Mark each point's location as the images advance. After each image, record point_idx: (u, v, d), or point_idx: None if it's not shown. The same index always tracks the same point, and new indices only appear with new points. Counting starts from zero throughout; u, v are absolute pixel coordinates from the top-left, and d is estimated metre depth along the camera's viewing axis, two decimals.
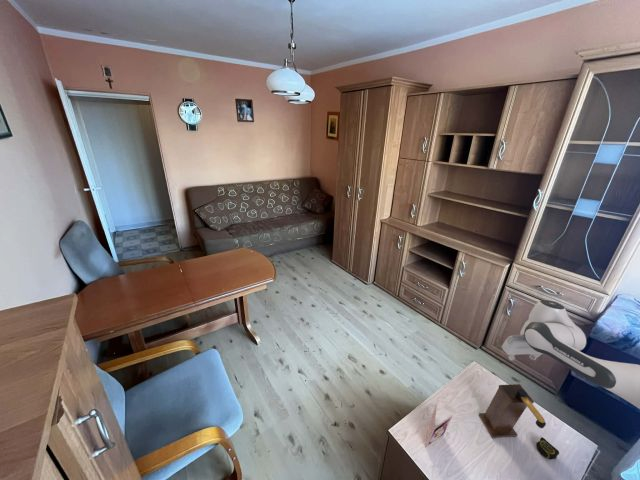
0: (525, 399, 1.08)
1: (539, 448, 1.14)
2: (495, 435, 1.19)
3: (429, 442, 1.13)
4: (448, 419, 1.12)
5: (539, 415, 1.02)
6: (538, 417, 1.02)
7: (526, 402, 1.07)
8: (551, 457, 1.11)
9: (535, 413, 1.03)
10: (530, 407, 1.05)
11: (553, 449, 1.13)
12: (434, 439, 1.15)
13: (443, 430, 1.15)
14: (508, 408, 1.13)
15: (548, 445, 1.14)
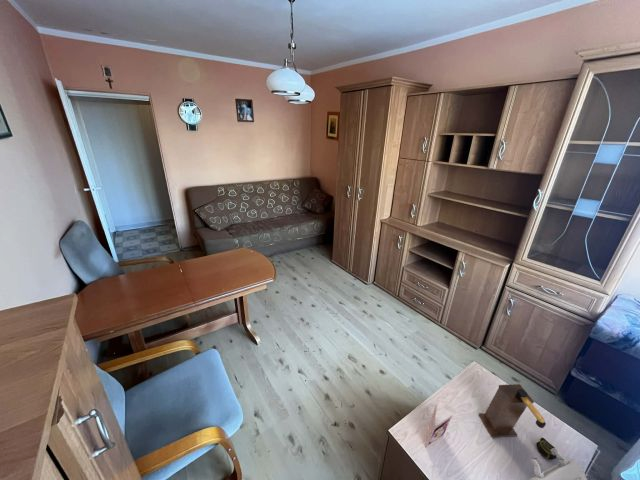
0: (525, 399, 1.08)
1: (539, 448, 1.14)
2: (495, 435, 1.19)
3: (429, 442, 1.13)
4: (448, 419, 1.12)
5: (539, 415, 1.02)
6: (538, 417, 1.02)
7: (526, 402, 1.07)
8: (551, 457, 1.11)
9: (535, 413, 1.03)
10: (530, 407, 1.05)
11: None
12: (434, 439, 1.15)
13: (443, 430, 1.15)
14: (508, 408, 1.13)
15: (548, 445, 1.14)
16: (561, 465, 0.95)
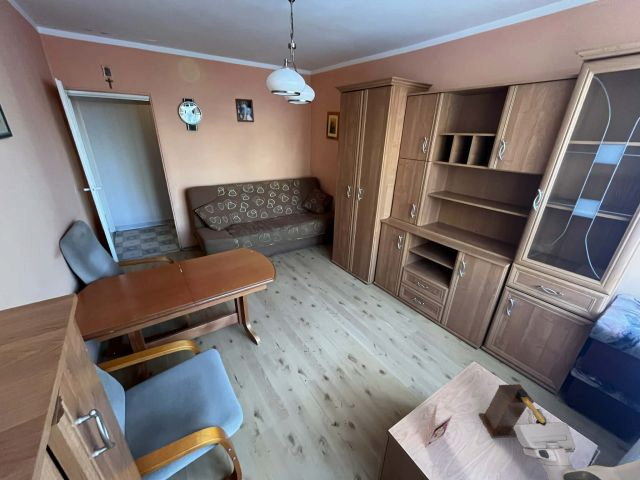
0: (525, 399, 1.08)
1: None
2: (495, 435, 1.19)
3: (429, 442, 1.13)
4: (448, 419, 1.12)
5: (539, 415, 1.02)
6: (538, 417, 1.02)
7: (526, 402, 1.07)
8: None
9: (535, 413, 1.03)
10: (530, 407, 1.05)
11: None
12: (434, 439, 1.15)
13: (443, 430, 1.15)
14: (508, 408, 1.13)
15: None
16: None
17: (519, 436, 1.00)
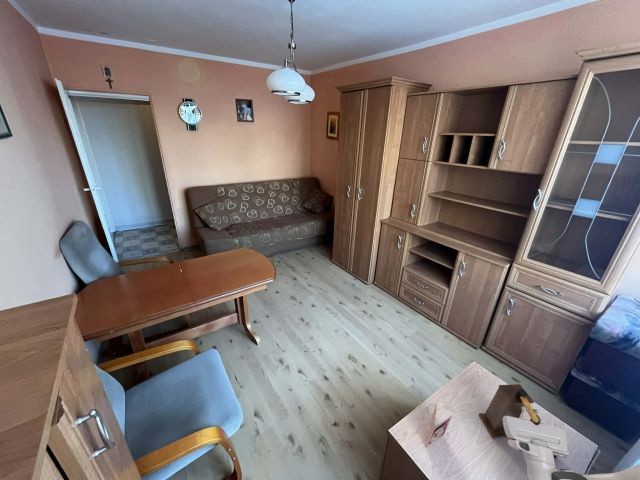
0: (523, 399, 1.08)
1: None
2: (495, 435, 1.19)
3: (429, 442, 1.13)
4: (448, 419, 1.12)
5: (533, 414, 1.02)
6: (532, 416, 1.02)
7: (524, 401, 1.07)
8: None
9: (530, 412, 1.03)
10: (526, 406, 1.06)
11: None
12: (434, 439, 1.15)
13: (443, 430, 1.15)
14: (508, 408, 1.13)
15: None
16: None
17: (505, 426, 1.03)
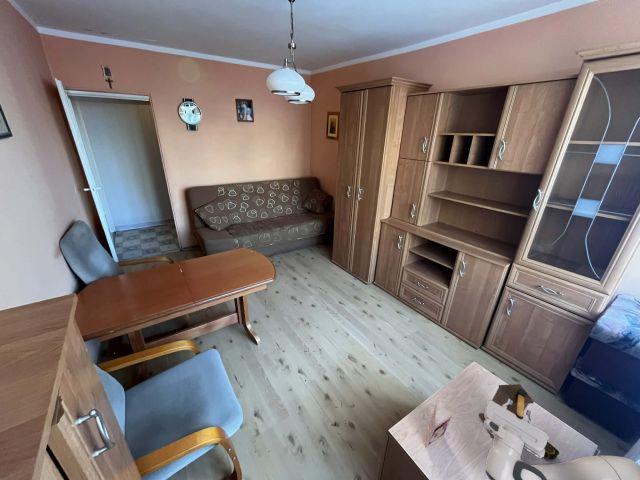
0: (520, 397, 1.09)
1: None
2: None
3: (429, 442, 1.13)
4: (448, 419, 1.12)
5: (520, 409, 1.04)
6: (518, 410, 1.04)
7: (518, 398, 1.08)
8: (551, 457, 1.11)
9: (518, 407, 1.05)
10: (518, 402, 1.07)
11: (553, 449, 1.13)
12: (434, 439, 1.15)
13: (443, 430, 1.15)
14: (508, 408, 1.13)
15: (548, 445, 1.14)
16: None
17: (485, 408, 1.09)
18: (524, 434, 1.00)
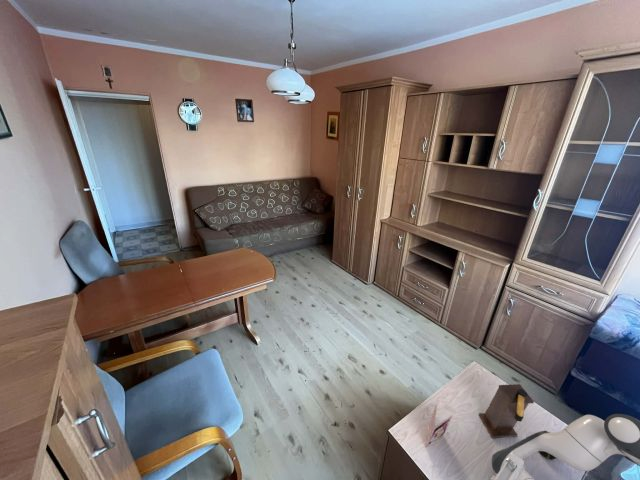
0: (520, 397, 1.09)
1: None
2: (495, 435, 1.19)
3: (429, 442, 1.13)
4: (448, 419, 1.12)
5: (520, 409, 1.04)
6: (517, 410, 1.04)
7: (518, 398, 1.08)
8: (551, 457, 1.11)
9: (518, 407, 1.05)
10: (518, 402, 1.07)
11: None
12: (434, 439, 1.15)
13: (443, 430, 1.15)
14: (508, 408, 1.13)
15: None
16: (508, 466, 0.90)
17: None
18: None
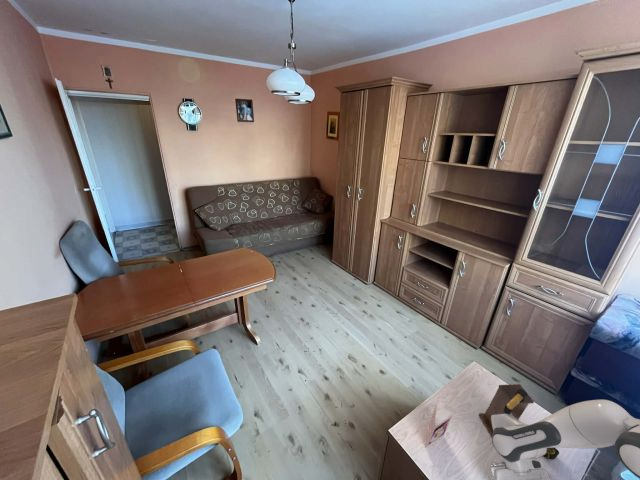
0: (517, 395, 1.10)
1: None
2: None
3: (429, 442, 1.13)
4: (448, 419, 1.12)
5: (511, 403, 1.06)
6: (508, 403, 1.06)
7: (515, 396, 1.09)
8: (551, 457, 1.11)
9: (510, 401, 1.07)
10: (513, 398, 1.08)
11: (553, 449, 1.13)
12: (434, 439, 1.15)
13: (443, 430, 1.15)
14: None
15: None
16: None
17: None
18: (513, 478, 0.98)
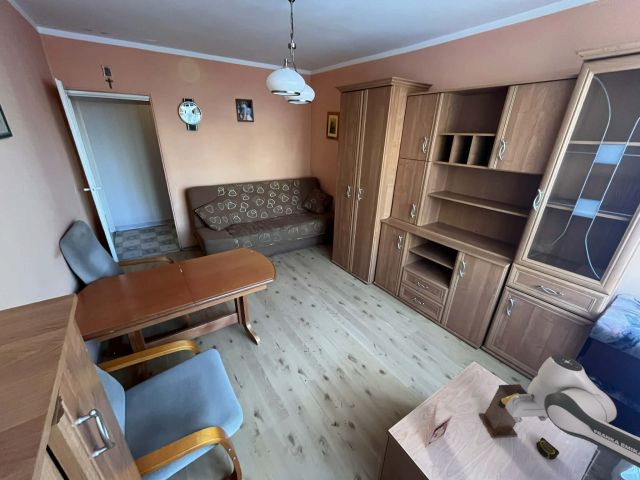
0: (516, 393, 1.10)
1: (539, 448, 1.14)
2: (495, 435, 1.19)
3: (429, 442, 1.13)
4: (448, 419, 1.12)
5: (506, 398, 1.08)
6: (503, 398, 1.08)
7: (513, 394, 1.10)
8: (551, 457, 1.11)
9: (506, 397, 1.09)
10: (510, 395, 1.09)
11: (553, 449, 1.13)
12: (434, 439, 1.15)
13: (443, 430, 1.15)
14: None
15: (548, 445, 1.14)
16: None
17: None
18: (534, 407, 0.88)
